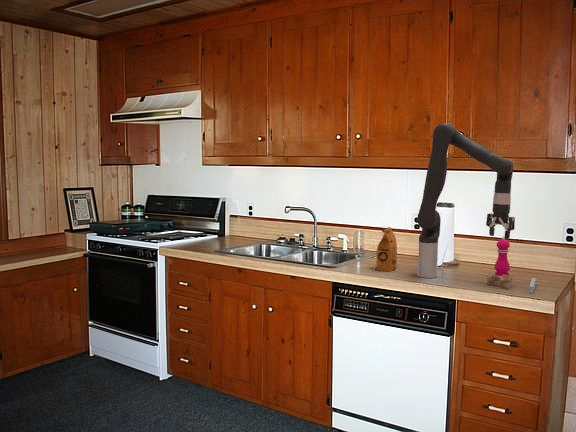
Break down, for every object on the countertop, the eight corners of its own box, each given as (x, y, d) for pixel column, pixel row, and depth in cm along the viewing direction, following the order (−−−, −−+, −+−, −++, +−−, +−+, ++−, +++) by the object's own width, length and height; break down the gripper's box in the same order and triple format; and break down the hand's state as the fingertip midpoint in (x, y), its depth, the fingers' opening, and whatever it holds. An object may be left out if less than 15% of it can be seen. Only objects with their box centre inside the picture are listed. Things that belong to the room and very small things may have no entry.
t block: (485, 286, 255) (486, 278, 255) (489, 281, 266) (489, 273, 265) (509, 289, 251) (509, 280, 250) (511, 283, 261) (512, 275, 261)
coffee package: (373, 270, 290) (373, 228, 287) (381, 266, 301) (382, 226, 298) (391, 272, 285) (392, 230, 282) (399, 268, 296) (400, 227, 293)
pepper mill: (505, 274, 280) (507, 235, 278) (512, 277, 273) (513, 237, 270) (491, 274, 280) (493, 235, 277) (497, 278, 273) (499, 237, 270)
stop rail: (529, 293, 244) (529, 286, 244) (532, 284, 260) (532, 277, 260) (532, 293, 243) (533, 286, 243) (535, 284, 259) (535, 278, 259)
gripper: (483, 201, 261) (481, 235, 263) (508, 204, 248) (506, 240, 250) (495, 200, 264) (492, 234, 266) (520, 204, 252) (517, 239, 254)
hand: (499, 237), depth 258 cm, fingers open, 8 cm apart
